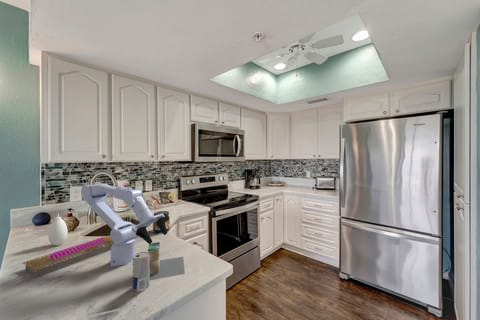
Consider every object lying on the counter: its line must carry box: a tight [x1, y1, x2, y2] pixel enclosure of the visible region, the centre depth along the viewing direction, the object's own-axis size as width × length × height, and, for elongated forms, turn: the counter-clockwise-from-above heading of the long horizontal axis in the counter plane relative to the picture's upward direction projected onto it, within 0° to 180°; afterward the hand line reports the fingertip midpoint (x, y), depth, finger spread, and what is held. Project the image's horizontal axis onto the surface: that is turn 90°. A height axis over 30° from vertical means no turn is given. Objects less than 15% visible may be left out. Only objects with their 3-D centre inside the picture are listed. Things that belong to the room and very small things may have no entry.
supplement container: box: [152, 210, 171, 234], centre depth 131 cm, size 10×10×12 cm
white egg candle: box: [47, 212, 69, 246], centre depth 109 cm, size 8×8×18 cm
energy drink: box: [132, 251, 151, 293], centre depth 70 cm, size 5×5×12 cm
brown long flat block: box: [22, 235, 114, 279], centre depth 95 cm, size 35×14×6 cm, turn 152°
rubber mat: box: [150, 256, 186, 281], centre depth 83 cm, size 18×15×1 cm
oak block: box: [147, 241, 161, 274], centre depth 82 cm, size 4×6×10 cm, turn 18°
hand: (158, 238), depth 84 cm, fingers open, 7 cm apart
